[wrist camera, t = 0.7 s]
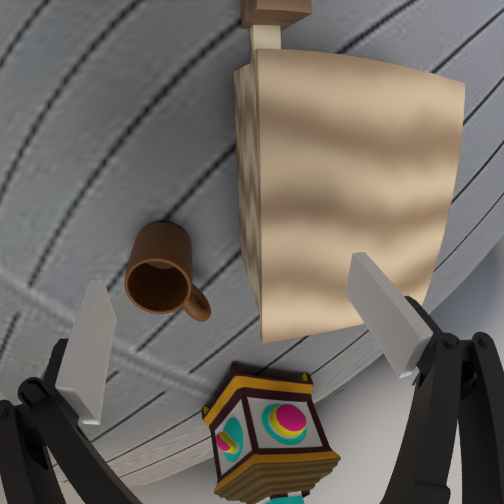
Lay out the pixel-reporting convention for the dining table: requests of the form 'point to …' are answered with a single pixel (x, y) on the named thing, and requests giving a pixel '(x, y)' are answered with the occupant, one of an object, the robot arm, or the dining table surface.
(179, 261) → the mug
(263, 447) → the decorative lantern
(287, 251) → the cabinet
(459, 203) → the dining table surface
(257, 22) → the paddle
